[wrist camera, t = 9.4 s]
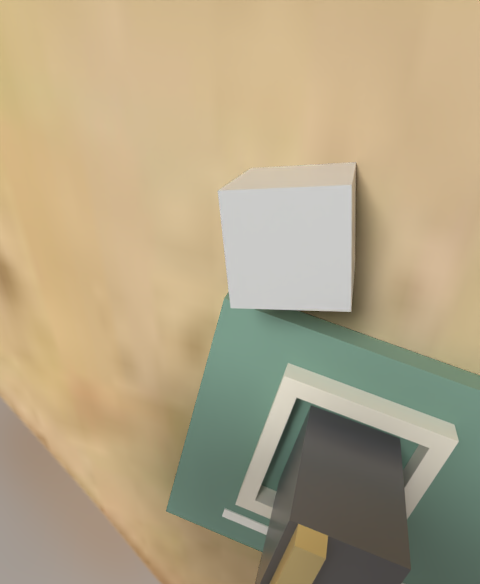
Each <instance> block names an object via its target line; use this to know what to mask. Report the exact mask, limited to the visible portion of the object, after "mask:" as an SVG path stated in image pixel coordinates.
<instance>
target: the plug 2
mask: <svg viewBox="0 0 480 584" xmlns="http://www.w3.org/2000/svg"><path fill="white" fill-rule="evenodd" d="M410 571H411V562H410V550H409V539H408V527H407V515H406V503H405V491H404V479H403V467H402V455H401V443H400V438H397V437H394V436H392V435H389V434H386V433H384V432H381V431H378V430H376V429H373V428H370V427H368V426H365V425H362V424H360V423H357V422H354V421H352V420H349V419H346V418H344V417H341V416H338V415H336V414H333V413H330V412H328V411H325V410H322V409H320V408H317V407H314V406H312V405H311V406H310V409H309V411H308V413H307V416H306V418H305V420H304V423H303V425H302V428H301V430H300V432H299V435H298V437H297V439H296V442H295V444H294V447H293V449H292V451H291V454H290V456H289V458H288V461H287V463H286V466H285V468H284V470H283V473H282V475H281V477H280V480H279V483H278V487H277V492H276V496H275V500H274V505H273V509H272V513H271V518H270V522H269V526H268V531H267V535H266V539H265V543H264V548H263V552H262V556H261V561H260V565H259V569H258V574H257V578H256V582H255V584H401V583H402V582H403V580H404V579H405V578H406V576H407V575H408V573H409V572H410Z"/></svg>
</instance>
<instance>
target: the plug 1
mask: <svg viewBox="0 0 480 584" xmlns="http://www.w3.org/2000/svg"><path fill="white" fill-rule="evenodd" d="M218 197H219V206H220V215H221V224H222V234H223V243H224V252H225V261H226V270H227V280H228V289H229V298H230V307H231V308H241V309H274V310H308V311H342V312H351V308H352V296H353V284H354V273H355V232H356V162H351V163H333V164H315V165H297V166H279V167H261V168H250V169H249V170H247V171H246V172H244V173H243V174H241V175H240V176H238V177H237V178H235V179H234V180H233V181H231V182H230V183H228V184H227V185H225V186H224V187H222V188H221V189H219V190H218Z"/></svg>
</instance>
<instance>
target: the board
mask: <svg viewBox="0 0 480 584" xmlns="http://www.w3.org/2000/svg"><path fill="white" fill-rule="evenodd" d="M311 405H312V406H314V407H317V408H320V409H322V410H325V411H328V412H330V413H333V414H336V415H338V416H341V417H344V418H346V419H349V420H352V421H354V422H357V423H360V424H362V425H365V426H368V427H370V428H373V429H376V430H378V431H381V432H384V433H386V434H389V435H392V436H394V437H397V438H400V443H401V455H402V467H403V479H404V491H405V503H406V515H407V527H408V539H409V550H410V562H411V571H410V572H409V573H408V575H407V576H406V578H405V579H404V580H403V582H402V583H401V584H480V376H479V375H477V374H474V373H471V372H468V371H465V370H463V369H460V368H457V367H454V366H451V365H449V364H446V363H443V362H440V361H437V360H434V359H432V358H429V357H426V356H423V355H420V354H418V353H415V352H412V351H409V350H406V349H404V348H401V347H398V346H395V345H392V344H390V343H387V342H384V341H381V340H378V339H376V338H373V337H370V336H367V335H364V334H362V333H359V332H356V331H353V330H350V329H348V328H345V327H342V326H339V325H336V324H334V323H331V322H328V321H325V320H322V319H319V318H317V317H314V316H311V315H308V314H305V313H303V312H300V311H297V310H274V309H241V308H231V307H230V298H229V292H228V294H227V295H226V297H225V298H224V301H223V305H222V309H221V312H220V316H219V320H218V323H217V327H216V331H215V334H214V338H213V342H212V345H211V349H210V353H209V356H208V360H207V363H206V367H205V371H204V374H203V378H202V382H201V385H200V389H199V393H198V396H197V400H196V404H195V407H194V411H193V415H192V418H191V422H190V425H189V429H188V433H187V436H186V440H185V444H184V447H183V451H182V455H181V458H180V462H179V466H178V469H177V473H176V477H175V480H174V484H173V488H172V491H171V495H170V498H169V502H168V506H167V509H166V511H167V512H169V513H172V514H174V515H176V516H179V517H181V518H183V519H186V520H188V521H190V522H193V523H195V524H197V525H200V526H202V527H204V528H207V529H209V530H211V531H214V532H216V533H219V534H221V535H223V536H226V537H228V538H230V539H233V540H235V541H237V542H240V543H242V544H244V545H247V546H249V547H251V548H254V549H256V550H258V551H261V552H263V548H264V543H265V539H266V535H267V531H268V526H269V522H270V518H271V513H272V509H273V505H274V500H275V496H276V492H277V487H278V483H279V480H280V477H281V475H282V473H283V470H284V468H285V466H286V463H287V461H288V458H289V456H290V454H291V451H292V449H293V447H294V444H295V442H296V439H297V437H298V435H299V432H300V430H301V428H302V425H303V423H304V420H305V418H306V416H307V413H308V411H309V409H310V406H311Z"/></svg>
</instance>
